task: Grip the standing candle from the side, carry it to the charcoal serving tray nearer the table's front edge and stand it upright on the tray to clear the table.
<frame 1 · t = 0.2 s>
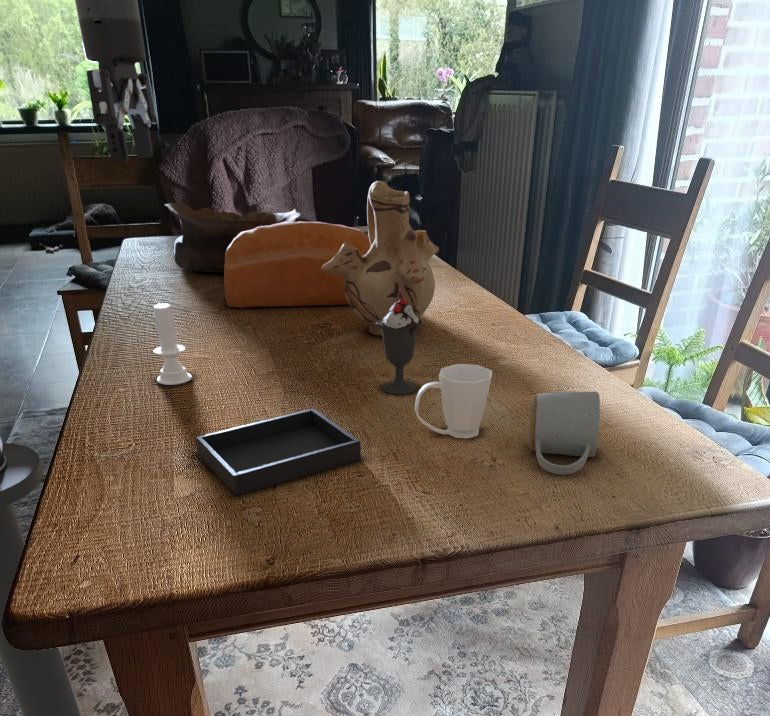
hand: (133, 159, 98), 31 cm above the table, tool pointing down, fingers open, 8 cm apart
ceramic vessel: (388, 333, 131), on the table
sundae: (399, 389, 106), on the table
bread: (305, 300, 152), on the table
bowl: (239, 265, 182), on the table
cup: (452, 434, 93), on the table
ceramic mug: (562, 457, 86), on the table
candle: (174, 380, 111), on the table
tray: (279, 457, 87), on the table
knife: (358, 245, 205), on the table
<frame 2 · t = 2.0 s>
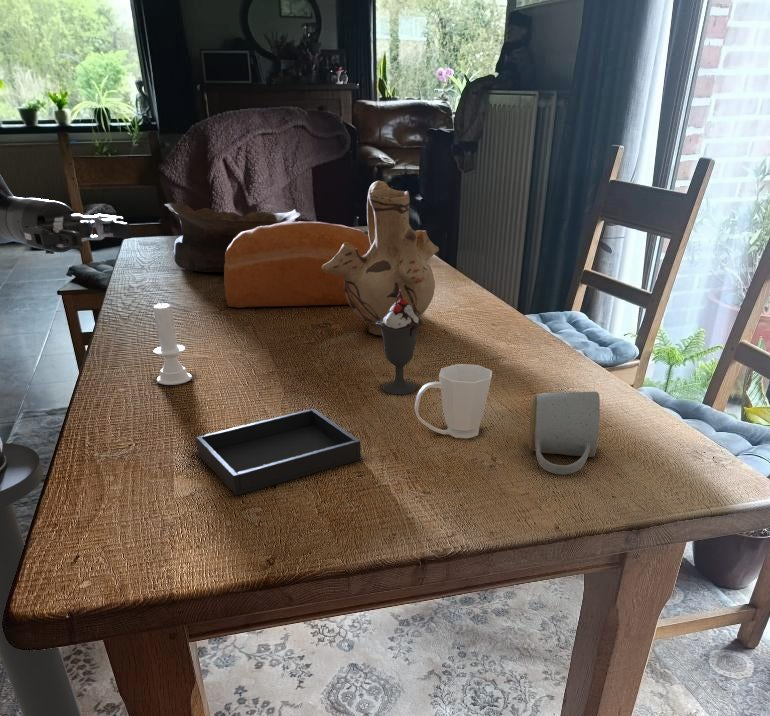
hand: (105, 235, 106), 20 cm above the table, tool horizontal, fingers open, 8 cm apart
nothing on the table moved.
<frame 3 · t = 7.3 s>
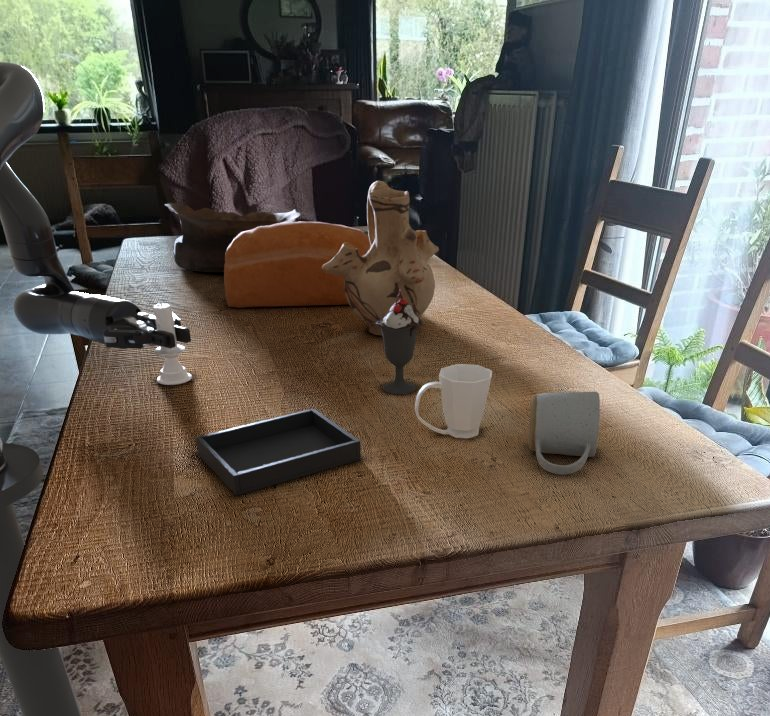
hand: (180, 338, 106), 7 cm above the table, tool horizontal, fingers closed on candle, 2 cm apart
candle: (174, 380, 111), on the table, touching gripper
everything else where it was.
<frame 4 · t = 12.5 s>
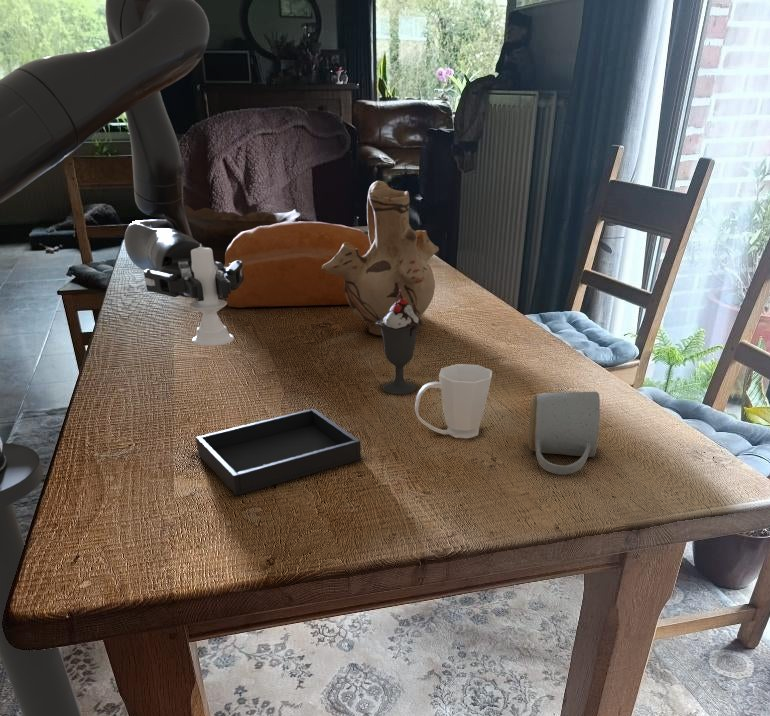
hand: (212, 291, 87), 18 cm above the table, tool horizontal, fingers closed on candle, 2 cm apart
candle: (213, 341, 93), point 10 cm above the table, touching gripper
everything else where it was.
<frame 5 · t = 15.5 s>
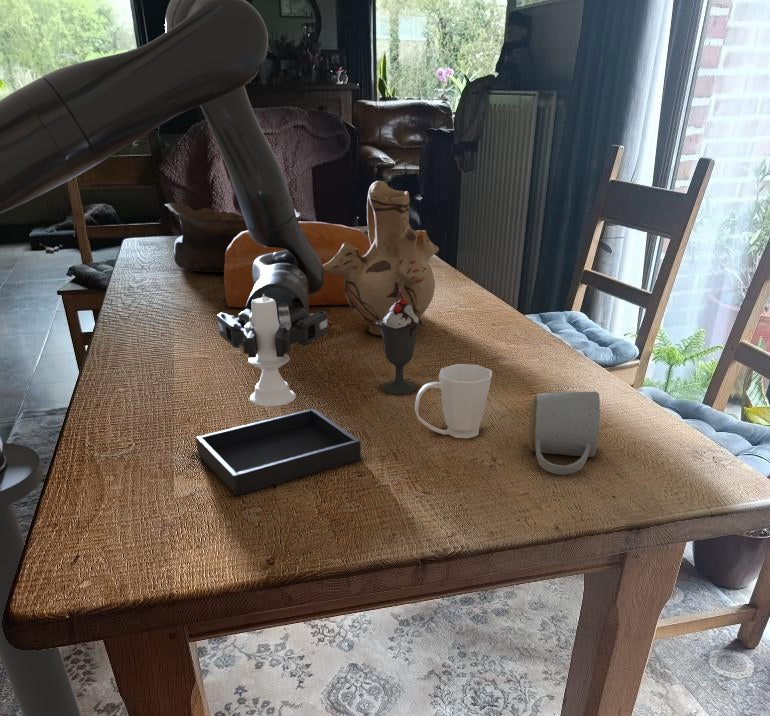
hand: (265, 348, 77), 15 cm above the table, tool horizontal, fingers closed on candle, 2 cm apart
candle: (273, 400, 83), point 7 cm above the table, touching gripper
everything else where it was.
when the fingers open (8 cm above the table, at t = 17.7 s): candle stays where it is, resting on tray.
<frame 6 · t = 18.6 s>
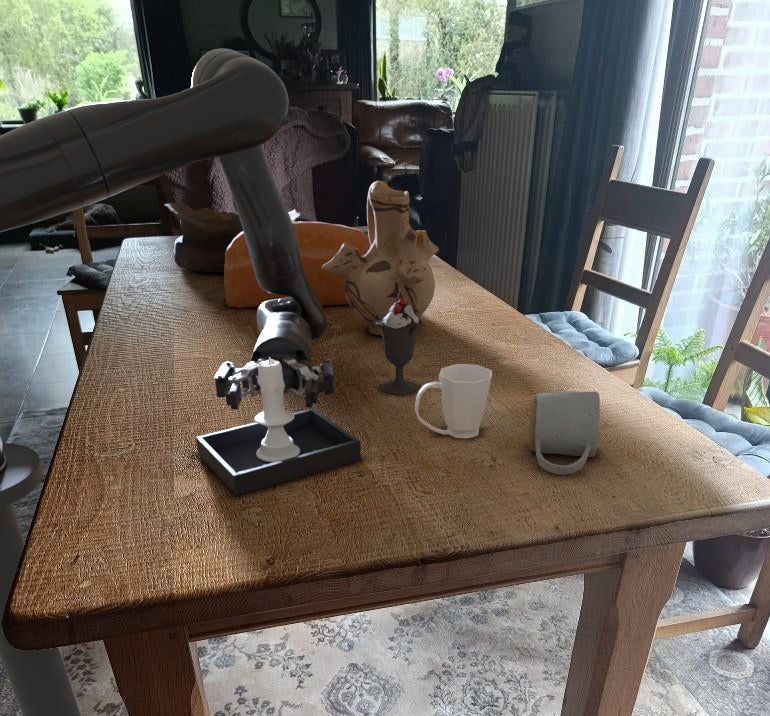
hand: (271, 400, 81), 8 cm above the table, tool horizontal, fingers open, 8 cm apart
candle: (278, 454, 87), resting on tray
everything else where it was.
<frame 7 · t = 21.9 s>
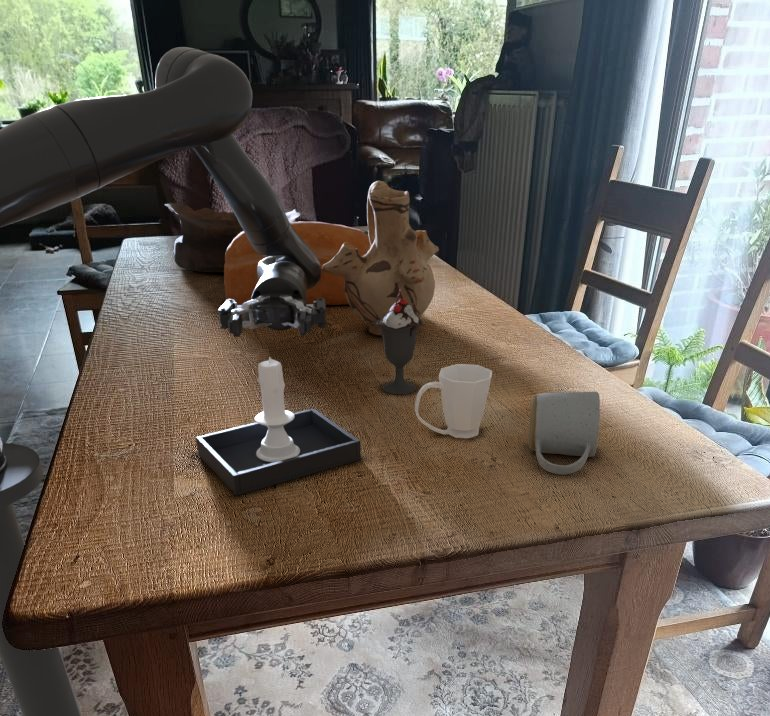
hand: (269, 328, 90), 13 cm above the table, tool horizontal, fingers open, 8 cm apart
nothing on the table moved.
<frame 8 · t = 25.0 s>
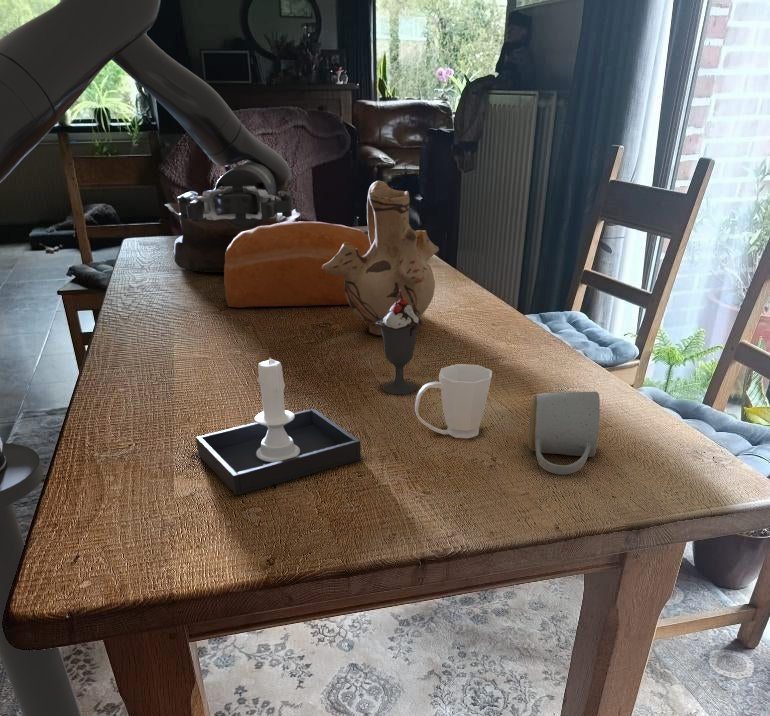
hand: (229, 212, 86), 26 cm above the table, tool horizontal, fingers open, 8 cm apart
nothing on the table moved.
at the end: candle inside the target area in the tray (0.1 cm from its centre), point 0.3 cm above the tray's base; candle tilted 0°; the gripper is holding nothing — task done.
